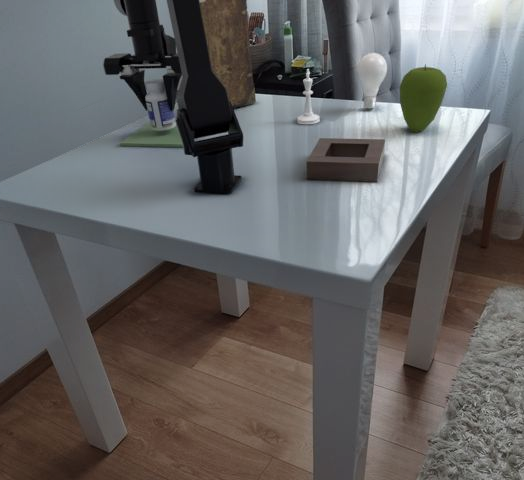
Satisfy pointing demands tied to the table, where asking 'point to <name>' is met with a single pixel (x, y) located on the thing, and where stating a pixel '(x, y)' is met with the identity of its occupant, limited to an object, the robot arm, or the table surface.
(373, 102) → the lightbulb
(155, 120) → the pill bottle
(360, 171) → the holder
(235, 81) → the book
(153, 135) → the mat
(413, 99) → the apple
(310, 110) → the chess piece
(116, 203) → the table surface
